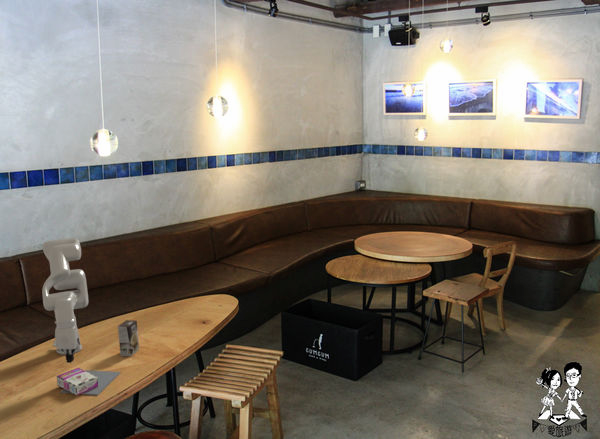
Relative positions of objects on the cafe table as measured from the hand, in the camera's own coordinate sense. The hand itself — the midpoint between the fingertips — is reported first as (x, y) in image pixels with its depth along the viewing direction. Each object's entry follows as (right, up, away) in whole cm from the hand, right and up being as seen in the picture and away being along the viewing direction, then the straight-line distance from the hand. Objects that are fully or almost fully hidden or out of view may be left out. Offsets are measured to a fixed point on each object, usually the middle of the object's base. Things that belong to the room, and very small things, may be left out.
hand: (70, 361), depth 273 cm
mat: (+10, -10, +1) cm, 14 cm away
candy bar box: (-2, -7, +1) cm, 7 cm away
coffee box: (+18, -4, +33) cm, 38 cm away
